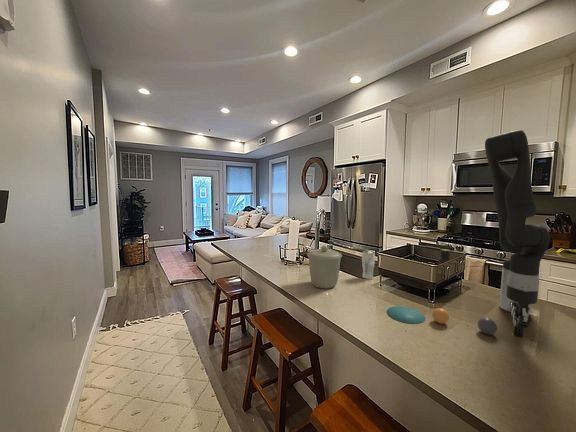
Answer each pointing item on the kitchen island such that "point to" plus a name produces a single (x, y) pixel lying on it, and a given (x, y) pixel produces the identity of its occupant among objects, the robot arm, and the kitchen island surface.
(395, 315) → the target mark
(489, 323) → the blue-grey ball
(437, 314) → the object ball
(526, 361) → the kitchen island surface
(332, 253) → the canister
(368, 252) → the beer glass
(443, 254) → the sauce bottle
